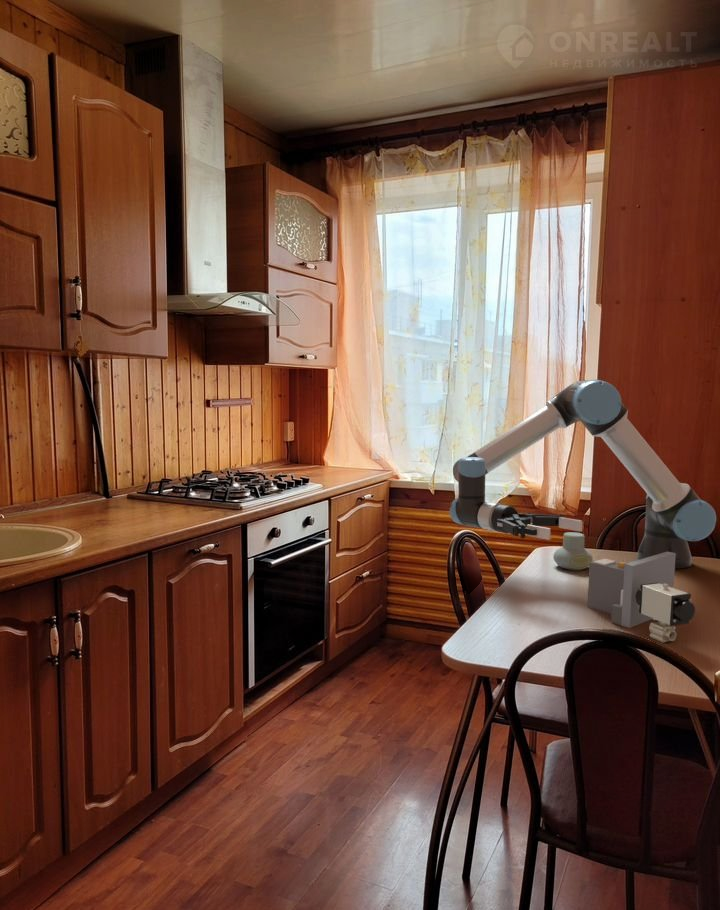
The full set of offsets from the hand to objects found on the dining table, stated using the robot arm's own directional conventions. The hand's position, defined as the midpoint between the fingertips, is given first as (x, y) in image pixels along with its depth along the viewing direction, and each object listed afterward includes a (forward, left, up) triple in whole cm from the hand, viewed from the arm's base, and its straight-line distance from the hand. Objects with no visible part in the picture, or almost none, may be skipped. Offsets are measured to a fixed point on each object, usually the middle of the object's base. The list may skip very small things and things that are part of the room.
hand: (566, 530), depth 174 cm
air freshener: (-26, -15, -17) cm, 35 cm away
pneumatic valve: (+8, +30, -17) cm, 36 cm away
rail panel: (-2, +20, -17) cm, 26 cm away
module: (-1, +14, -17) cm, 22 cm away
